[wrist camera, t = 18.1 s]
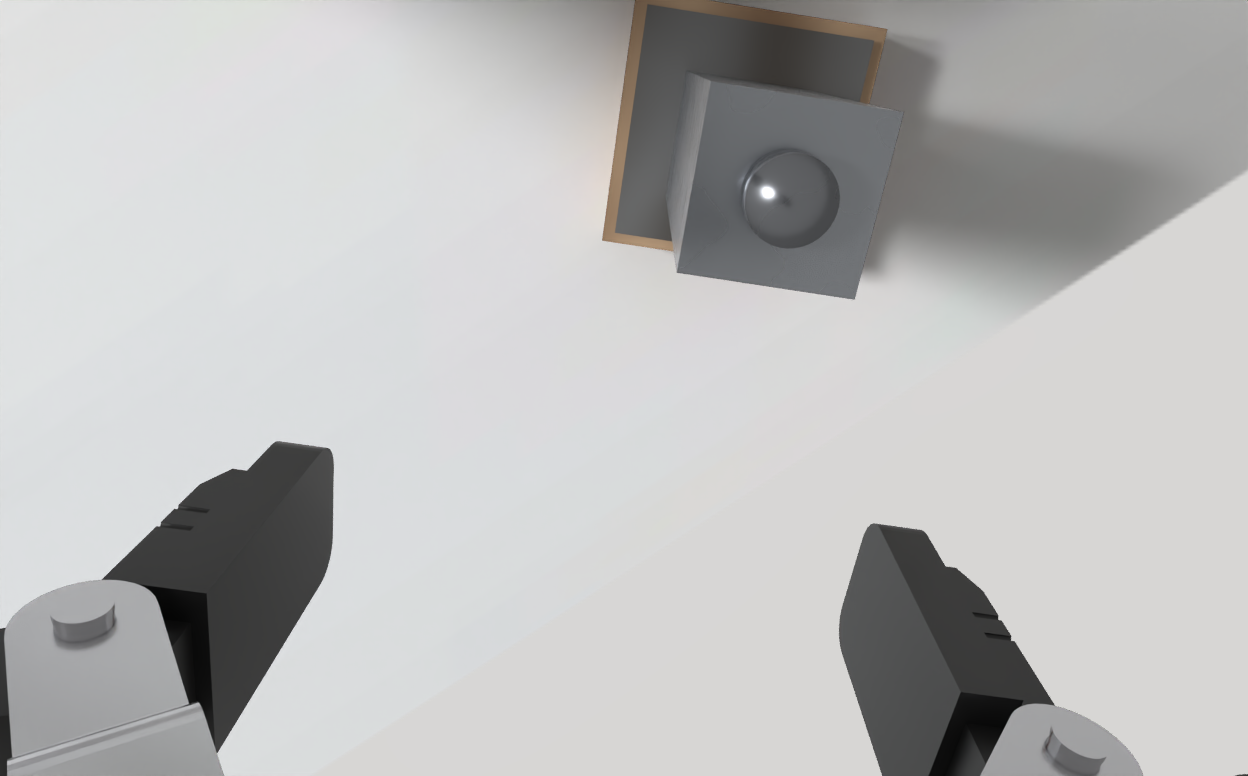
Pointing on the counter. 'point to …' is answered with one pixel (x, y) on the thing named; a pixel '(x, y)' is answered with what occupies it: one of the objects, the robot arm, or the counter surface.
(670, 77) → the stand
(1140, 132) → the counter surface
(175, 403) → the counter surface
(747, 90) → the block
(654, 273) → the counter surface
